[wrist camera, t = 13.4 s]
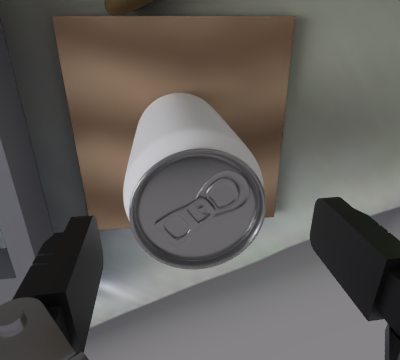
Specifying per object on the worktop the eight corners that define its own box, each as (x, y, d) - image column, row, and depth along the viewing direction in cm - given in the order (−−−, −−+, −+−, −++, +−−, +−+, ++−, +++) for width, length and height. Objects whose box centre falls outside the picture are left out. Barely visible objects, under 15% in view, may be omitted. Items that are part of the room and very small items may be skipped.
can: (236, 142, 24) (302, 223, 13) (172, 188, 25) (183, 300, 14) (188, 72, 21) (220, 101, 10) (118, 127, 22) (81, 205, 11)
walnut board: (56, 17, 20) (51, 15, 19) (289, 17, 22) (295, 16, 21) (93, 224, 26) (91, 230, 26) (270, 211, 28) (273, 216, 27)
